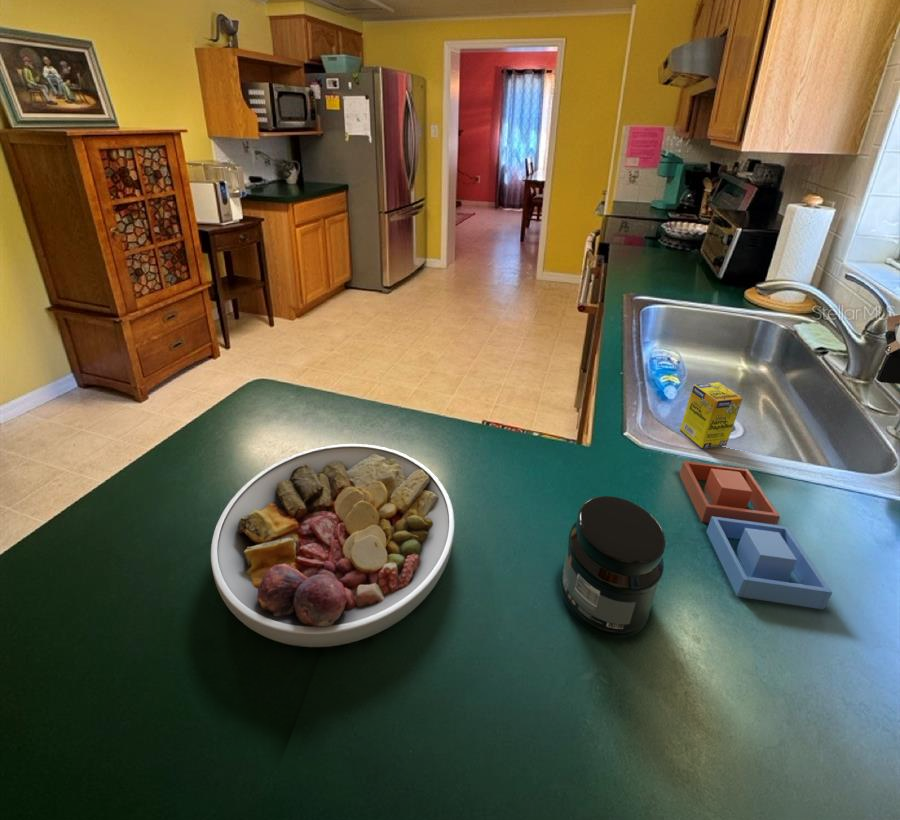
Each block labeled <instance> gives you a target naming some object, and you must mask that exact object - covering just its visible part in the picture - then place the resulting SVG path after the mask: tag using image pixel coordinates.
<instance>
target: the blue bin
mask: <svg viewBox="0 0 900 820" xmlns="http://www.w3.org/2000/svg"><path fill="white" fill-rule="evenodd" d="M745 528H750V529H757V530H764V531H772V532H779V533H780V535H781V536H782V538H783V539H784V541H785V542H786V544H787V545H788V547H789V548H790V550H791V552H792V553H793V555H794V556H795V558H796V559H797V561H796V564H795V566H794V568H793V571H795V573H796V575H797V576H798V578H799V580H800V581H801V583H802V584H801V583H796V582H795V583H794V582H788V581H787V582H782V581H775V580H768V579H762V578H755V577H749V576H748V575H747V573H746V571H745V569H744V567H743V565H742V563H741V561H739V560H740V559H739V557H737V554H736V552H735V551H734V549H733V547H732V544H731V542H730V541H729V539H735V540H741V537H742V534H743V532H744V529H745ZM706 534H707V536H708V539H709V541H710V542H711V545H712V547H713V549H714V551H715V554H716V555H717V557H718V560H719V561H720V563H721V565H722V568H723V570H724V572H725V574H726V576H727V578H728V581H729V582H730V585H731V586H732V589H733V591H734V592H735V596H736V597H738V598H739V597H740V598H746V599H752V600H759V601H766V602H773V603H778V604H783V605H784V604H786V605H791V606H799V607H803V608H805V607H806V608H812V609H819V610H825V608H826V606H827V604H828V602H829V600H830V598H831V596H832V595H833V591H832V590H831V589H830V587H829V586H828V584H827V582H826V581H825V579H824V578H823V577H822V575H821V574H820V573H819V570H817V568H816V566H815V565H814V564H813V562H812V560H811V559H810V557H809V556H808V555H807V553H806V552H805V551H804V549H803V547H802V546H801V545H800V543H799V542H798V540H797V539H796V537H795V536H794V534H793V533H792V531H791V530H790V529H789V526H786V525H779V524H777V525H772V524H765V523H758V522H750V521H743V520H736V519H728V518H721V517H714V516H712V517H711V520H710V523H708V526H707V529H706ZM728 538H729V539H728Z"/></svg>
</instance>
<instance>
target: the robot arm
mask: <svg viewBox="0 0 900 820" xmlns="http://www.w3.org/2000/svg"><path fill="white" fill-rule="evenodd" d="M884 337H885V341H886V345H884V346H885V347H884V353H886V354H885V356H884V358H883V359H884V360H883V362H882V364H881V366H880V368H879V371H878V373H877V375H876V377H875V379H876V380H877V381H878V382H879V383H885V384H893V385H894V384H895V385H900V314H893V315H891V314H890V315H888V316H887V317H886V332H885V334H884Z"/></svg>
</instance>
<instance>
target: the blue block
mask: <svg viewBox="0 0 900 820" xmlns="http://www.w3.org/2000/svg"><path fill="white" fill-rule="evenodd" d="M735 554H736V556H738V559H739V560H740V563H741V565H742V567H743V569H744V571H745V573H746V575H747V576H748V577H755V578H762V579H768V580H775V581H782V582H788V581H789V579H790V576H791V575H792V572H793V571H794V569H793V568H794V566H795V564H796V561H797V559H796V558H795V556H794V555H793V553H792V552H791V550H790V548H789V547H788V545H787V544H786V542H785V541H784V539H783V538H782V536H781V535H780V533H779V532H772V531H764V530H757V529H750V528H745V529H744V532H743V534H742V537H741V539H739V542H738V544H737V548H736V550H735Z"/></svg>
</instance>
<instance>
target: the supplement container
mask: <svg viewBox="0 0 900 820" xmlns="http://www.w3.org/2000/svg"><path fill="white" fill-rule="evenodd" d="M666 545H667V543H666V536H665V531H664V530H663V528H662V526H661V525H660V523H659V522H658V521H657V519H656V517H654V516H653V515H652V514H651V513H649V512H648V511H647V510H646V509H644V508H643V507H642V506H640V505H638V504H636V503H634V502H632V501H630V500H627V499H624V498H621V497H617V496H608V495H603V496H602V495H601V496H596V497H593V498H591V499H588V500H587V501H585V502H584V503H583V504H582V505H581V506H580V508H579V511H578V514H577V519H576V521H575V522H574V523H573V525H572V527H571V528H570V530H569V535H568V544H567V549H566V555H565V559H564V565H563V569H562V571H561V576H560V592H561V595H562V598H563V601H564V604H565V605H566V607H567V609H568V610H569V612H570V613H571V614H572V616H573V617H574V618H575V619H576V620H577V621H578V622H579V623H580V624H582V625H583V626H584V627H586V628H587V629H588V630H590V631H592V632H594V633H596V634H598V635H601V636H604V637H608V638H613V639H623V638H628V637H631V636H634V635H636V634H637V633H638V632H640V631H641V630H642V629H643V628H644V627H645V625H646V624H647V622H648V620H649V618H650V613H651V609H652V608H651V607H652V604H653V601H654V598H655V595H656V591H657V589H658V586H659V583H660V582H661V580H662V577H663V574H664V569H665V562H664V553H665V550H666Z"/></svg>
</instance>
